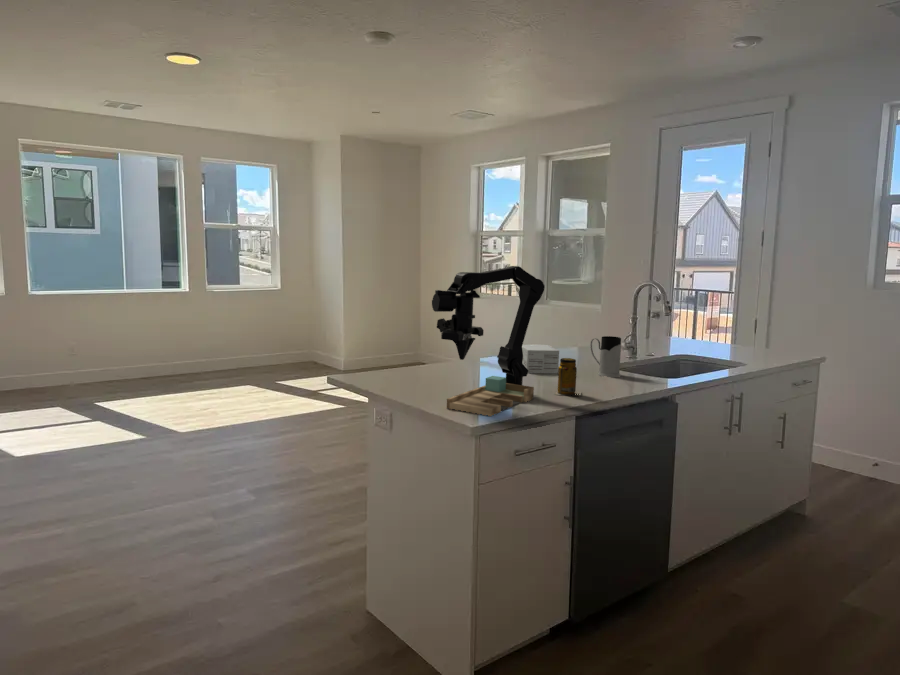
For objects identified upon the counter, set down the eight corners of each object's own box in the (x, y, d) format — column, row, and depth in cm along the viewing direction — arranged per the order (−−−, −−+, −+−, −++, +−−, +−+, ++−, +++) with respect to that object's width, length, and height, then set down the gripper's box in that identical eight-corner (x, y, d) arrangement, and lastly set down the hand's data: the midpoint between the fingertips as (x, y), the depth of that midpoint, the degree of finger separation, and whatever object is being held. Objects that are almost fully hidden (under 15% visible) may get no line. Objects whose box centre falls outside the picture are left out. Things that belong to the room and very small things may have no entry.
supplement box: (558, 373, 254) (560, 350, 253) (526, 373, 253) (527, 350, 251) (547, 365, 271) (548, 344, 270) (517, 365, 269) (518, 343, 268)
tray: (489, 392, 217) (490, 380, 216) (533, 399, 208) (533, 387, 208) (446, 408, 193) (446, 395, 192) (493, 416, 185) (494, 403, 184)
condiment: (557, 390, 223) (559, 356, 221) (582, 393, 220) (584, 358, 218) (554, 395, 216) (556, 360, 214) (580, 397, 213) (582, 362, 212)
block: (492, 387, 215) (492, 375, 214) (505, 389, 212) (506, 377, 212) (485, 390, 211) (485, 378, 210) (498, 392, 208) (499, 380, 207)
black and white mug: (611, 378, 248) (613, 339, 246) (582, 371, 259) (584, 335, 257) (624, 375, 253) (627, 338, 251) (596, 369, 264) (598, 333, 262)
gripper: (455, 308, 217) (453, 353, 219) (427, 311, 201) (425, 360, 203) (485, 310, 212) (482, 357, 214) (458, 314, 196) (456, 364, 198)
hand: (461, 359), depth 207 cm, fingers closed
